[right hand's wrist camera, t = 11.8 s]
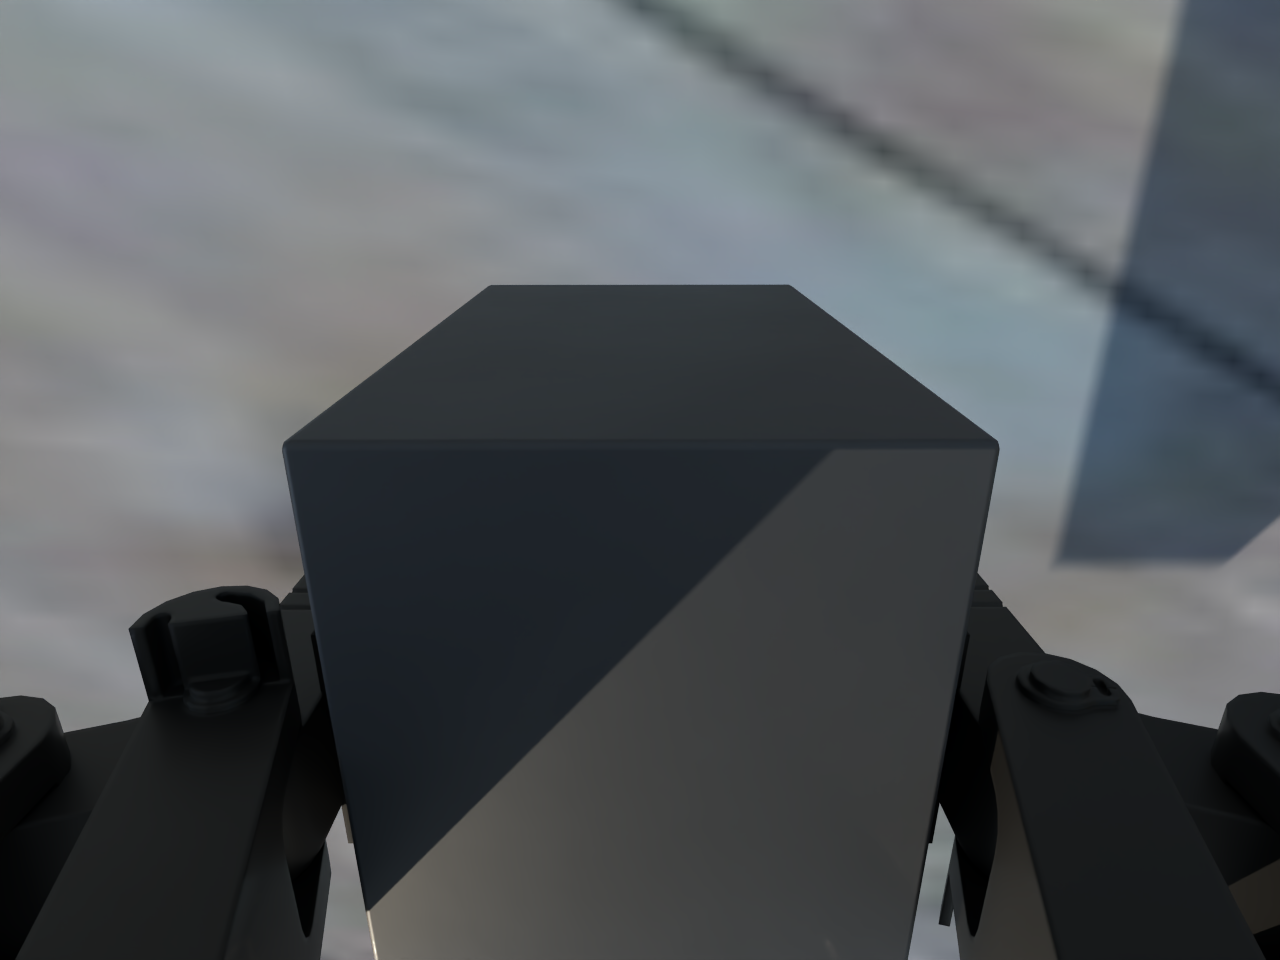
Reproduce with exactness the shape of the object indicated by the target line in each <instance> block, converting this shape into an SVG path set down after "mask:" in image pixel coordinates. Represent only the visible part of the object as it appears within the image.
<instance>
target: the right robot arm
mask: <svg viewBox="0 0 1280 960" xmlns="http://www.w3.org/2000/svg"><path fill="white" fill-rule="evenodd" d="M988 587H989V586H988V585H987V584H986V582H985V581H984V580H983V579H982V578H981V576H980V575H979V574H978V573H977V578H976V583H975V589H974V594H973V600H972V605H971V611H970V616H969V622H968V627H967V633H966V639H965V644H964V650H963V655H962V661H961V666H960V672H959V677H958V683H957V688H956V694H955V700H954V705H953V711H952V716H951V722H950V727H949V733H948V738H947V744H946V750H945V755H944V761H943V766H942V772H941V777H940V783H939V788H938V794H937V799H936V805H935V811H934V816H933V822H932V827H931V833H930V838H929V843H932V841H933V836H934V830H935V825H936V819H937V814H938V808H939V803H940V804H941V806H942V808H943V810H944V812H945V815H946V817H947V819H948V821H949V823H950V825H951V827H952V829H953V831H954V834H955V839H954V844H953V849H952V854H951V859H950V864H949V869H948V874H947V879H946V885H945V890H944V895H943V900H942V905H941V911H940V918H939V924H940V925H945V926H950V922H951V917H952V912H953V909H954V915H955V923H956V931H957V938H958V946H959V954H960V960H1280V694H1274V693H1266V692H1257V693H1249V694H1242V695H1238V696H1237V697H1235V698H1234V699H1233V700H1231V701H1230V702H1229V703H1227V705H1226V708H1225V711H1224V714H1223V717H1222V720H1221V723H1220V726H1219V729H1213V728H1208V727H1203V726H1197V725H1192V724H1187V723H1182V722H1177V721H1172V720H1167V719H1161V718H1156V717H1152V716H1148V715H1144V714H1140V713H1138V712H1137V710H1136V708H1135V706H1134V704H1133V703H1132V701H1131V699H1130V698H1129V697H1128V696H1127V695H1126V693H1125V692H1124V691H1123V690H1122V689H1121V687H1120V686H1119V685H1118V684H1117V683H1115V682H1114V681H1112V680H1111V679H1109V678H1108V677H1106V676H1105V675H1103V674H1102V673H1100V672H1099V671H1097V670H1095V669H1093V668H1091V667H1088V666H1086V665H1083V664H1081V663H1079V662H1076V661H1074V660H1071V659H1068V658H1063V657H1059V656H1055V655H1050V654H1046V653H1045V652H1044V651H1043V650H1042V649H1041V648H1040V647H1039V645H1038V644H1037V643H1036V642H1035V641H1034V639H1033V638H1032V637H1031V636H1030V635H1029V633H1028V632H1027V631H1026V630H1025V629H1024V628H1023V626H1022V625H1021V624H1020V623H1019V622H1018V620H1017V619H1016V618H1015V617H1014V616H1013V614H1012V613H1011V612H1010V611H1009V610H1008V609H1007V607H1003V605H1002V601H1001V600H1000V599H999V598H998V597H997V595H996V594H995V593H994V592H993V591H992V590H989V588H988ZM129 632H130V636H131V639H132V643H133V646H134V650H135V653H136V657H137V660H138V664H139V668H140V671H141V675H142V678H143V682H144V685H145V689H146V692H147V696H148V700H149V702H148V704H147V706H146V708H145V710H144V712H143V714H142V716H141V717H139V718H135V719H131V720H127V721H122V722H117V723H112V724H107V725H102V726H96V727H91V728H86V729H81V730H76V731H71V732H66V733H64V732H63V729H62V726H61V724H60V721H59V718H58V715H57V712H56V709H55V707H54V706H52V705H51V704H50V703H48V702H47V701H46V700H44V699H43V698H36V697H28V696H13V697H4V698H0V960H320V956H321V948H322V940H323V933H324V925H325V917H326V910H327V902H328V894H329V886H330V879H331V868H330V860H329V854H328V849H327V844H326V837H327V835H328V833H329V831H330V828H331V826H332V824H333V822H334V820H335V818H336V816H337V814H338V811H339V809H340V807H341V805H342V811H343V816H344V822H345V827H346V833H347V838H348V843H353V838H352V832H351V827H350V821H349V816H348V810H347V805H346V799H345V794H344V788H343V783H342V777H341V772H340V766H339V761H338V755H337V750H336V744H335V739H334V733H333V728H332V722H331V717H330V711H329V706H328V700H327V695H326V689H325V684H324V678H323V673H322V667H321V662H320V656H319V651H318V645H317V640H316V634H315V629H314V623H313V618H312V612H311V607H310V601H309V596H308V590H307V585H306V579H305V574H304V576H303V577H302V578H301V579H300V580H299V582H298V583H297V584H296V585H295V586H294V588H293V592H292V593H289V594H288V595H287V596H286V597H285V598H284V600H283V601H282V602H281V603H280V604H279V599H278V598H277V597H276V596H275V595H273V594H272V593H271V592H269V591H268V590H265V589H261V588H256V587H251V586H221V587H216V588H211V589H206V590H201V591H196V592H192V593H189V594H186V595H183V596H180V597H178V598H175V599H172V600H169V601H166V602H164V603H163V604H161V605H159V606H157V607H155V608H154V609H152V610H150V611H148V612H147V613H145V614H143V615H142V616H141V617H140V618H139V619H138V620H137V621H136V622H135V623H134V624H133V625H132V626H131V627H130V628H129Z"/></svg>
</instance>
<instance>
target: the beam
mask: <svg viewBox="0 0 1280 960" xmlns="http://www.w3.org/2000/svg"><path fill="white" fill-rule="evenodd" d="M282 452H283V458H284V463H285V469H286V474H287V480H288V485H289V491H290V496H291V502H292V507H293V513H294V519H295V524H296V530H297V535H298V541H299V546H300V552H301V557H302V563H303V568H304V574H305V579H306V585H307V590H308V596H309V601H310V607H311V612H312V618H313V623H314V629H315V634H316V640H317V645H318V651H319V656H320V662H321V667H322V673H323V678H324V684H325V689H326V695H327V700H328V706H329V711H330V717H331V722H332V728H333V733H334V739H335V744H336V750H337V755H338V761H339V766H340V772H341V777H342V783H343V788H344V794H345V799H346V805H347V810H348V816H349V821H350V827H351V832H352V838H353V843H354V849H355V854H356V860H357V866H358V871H359V877H360V882H361V888H362V893H363V899H364V904H365V910H366V915H367V921H368V926H369V932H370V937H371V943H372V948H373V954H374V959H375V960H908V955H909V949H910V944H911V938H912V933H913V927H914V921H915V916H916V910H917V905H918V899H919V894H920V888H921V883H922V877H923V872H924V866H925V860H926V855H927V849H928V844H929V838H930V833H931V827H932V822H933V816H934V811H935V805H936V799H937V794H938V788H939V783H940V777H941V772H942V766H943V761H944V755H945V750H946V744H947V738H948V733H949V727H950V722H951V716H952V711H953V705H954V700H955V694H956V688H957V683H958V677H959V672H960V666H961V661H962V655H963V650H964V644H965V639H966V633H967V627H968V622H969V616H970V611H971V605H972V600H973V594H974V589H975V583H976V578H977V572H978V566H979V561H980V555H981V550H982V544H983V539H984V533H985V528H986V522H987V517H988V511H989V505H990V500H991V494H992V489H993V483H994V478H995V472H996V467H997V461H998V456H999V444H998V441H997V440H996V439H994V438H993V437H992V436H990V435H989V434H988V433H986V432H985V431H984V430H982V429H981V428H980V427H978V426H977V425H976V424H974V423H973V422H972V421H970V420H969V419H968V418H966V417H965V416H964V415H962V414H961V413H960V412H958V411H957V410H956V409H954V408H953V407H952V406H950V405H949V404H948V403H946V402H945V401H944V400H942V399H941V398H940V397H938V396H937V395H936V394H934V393H933V392H932V391H930V390H929V389H928V388H926V387H925V386H924V385H922V384H921V383H920V382H918V381H917V380H916V379H914V378H913V377H912V376H910V375H909V374H908V373H906V372H905V371H904V370H902V369H901V368H900V367H898V366H897V365H896V364H894V363H893V362H892V361H890V360H889V359H888V358H886V357H885V356H884V355H882V354H881V353H880V352H878V351H877V350H876V349H874V348H873V347H872V346H870V345H869V344H868V343H866V342H865V341H864V340H863V339H861V338H860V337H859V336H857V335H856V334H855V333H853V332H852V331H851V330H849V329H848V328H847V327H845V326H844V325H843V324H841V323H840V322H839V321H837V320H836V319H835V318H833V317H832V316H831V315H829V314H828V313H827V312H825V311H824V310H823V309H821V308H820V307H819V306H817V305H816V304H815V303H813V302H812V301H811V300H809V299H808V298H807V297H805V296H804V295H803V294H801V293H800V292H799V291H797V290H796V289H795V288H793V287H792V286H790V285H490V286H488V287H487V288H485V289H484V290H483V291H482V292H480V293H479V294H478V295H476V296H475V297H474V298H472V299H471V300H470V301H468V302H467V303H466V304H464V305H463V306H462V307H461V308H459V309H458V310H457V311H455V312H454V313H453V314H451V315H450V316H449V317H447V318H446V319H445V320H443V321H442V322H441V323H440V324H438V325H437V326H436V327H434V328H433V329H432V330H430V331H429V332H428V333H426V334H425V335H424V336H422V337H421V338H420V339H419V340H417V341H416V342H415V343H413V344H412V345H411V346H409V347H408V348H407V349H405V350H404V351H403V352H401V353H400V354H399V355H398V356H396V357H395V358H394V359H392V360H391V361H390V362H388V363H387V364H386V365H384V366H383V367H382V368H380V369H379V370H378V371H377V372H375V373H374V374H373V375H371V376H370V377H369V378H367V379H366V380H365V381H363V382H362V383H361V384H359V385H358V386H357V387H356V388H354V389H353V390H352V391H350V392H349V393H348V394H346V395H345V396H344V397H342V398H341V399H340V400H338V401H337V402H336V403H335V404H333V405H332V406H331V407H329V408H328V409H327V410H325V411H324V412H323V413H321V414H320V415H319V416H317V417H316V418H315V419H314V420H312V421H311V422H310V423H308V424H307V425H306V426H304V427H303V428H302V429H300V430H299V431H298V432H296V433H295V434H294V435H293V436H291V437H290V438H289V439H287V440H286V441H285V442H284V444H283V448H282Z"/></svg>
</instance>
